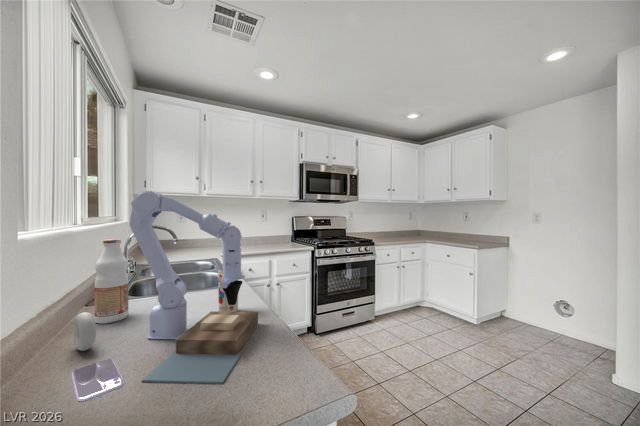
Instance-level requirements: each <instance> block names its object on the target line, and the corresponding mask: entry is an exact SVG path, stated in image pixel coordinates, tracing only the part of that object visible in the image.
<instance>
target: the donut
mask: <svg viewBox="0 0 640 426" xmlns="http://www.w3.org/2000/svg"><path fill="white" fill-rule="evenodd" d="M96 324H97V323H96V322H95V316H94V315H93V314H92V313H91V312H87V311H83V312H81V313H78V315H77V316H76V317H75V318H74V321H73V327H72V330H73V331H72V334H73V336H72V337H73V343H74V345H75V348H76V349H77V350H79V351H81V352H85V351H88V350H89V349H90V348H92V347H93V346H94V344H95V341H96V338H97V325H96Z"/></svg>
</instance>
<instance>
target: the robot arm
mask: <svg viewBox="0 0 640 426" xmlns="http://www.w3.org/2000/svg"><path fill="white" fill-rule="evenodd" d="M130 204H131V205H130V206H131V211H130V218H129V228H130V230H131V231H132V233H133V236H134V238H135V239H136V242H137V244H138V245H139V246H138V247H139V248H140V250H141V252H142V254H143V256H144V258H145V260H146V261H147V264H148V266H149V268H150V270H151V273H152V274H153V276H154V278H155V289H156V291H157V293H158V296H157V302H158V303H159V304H156V305H155V306H153V308H152V309H151V310H150V313H149V336H147V339H148V340H176V339H177V338H179V337H180V336H181V335H182V334H184V333H185V332H186V331H187V330H189V329H190V328H191V327H192V326H187V325H188V324H187V320H188V319H187V316H188V313H187V309H188V307H187V304H188V303H187V300H186V298H185V297H184V296H185V295H186V293H187V291H188V285H187V284H186V282H185V281H183V280H182V279H181V278H180V277H179V275H178V274H177V273H176V272H175V271H174V269H173V267H172V265H171V263H170V261H169V259H168V256H167V254H166V252H165V249H164V248H163V246H162V244H161V242H160V239H159V238H158V236H157V233H156V231H155V229H154V227H153V224H154V222H155V220H156V219H157V216H158V215H160V214H161V213H162V212H170V213H171V212H172V213H175V214H178V215H180V216H182V217H183V218H186V219H187V220H190V221H192V222H194V223H196V224H198V226H199V230H201V231H203V232H205V233H207V234H209V235H210V236H213V237H215V238H217V239H221V240H222V241H223V249H222V264H223V277H222V280H221V282H220V288H223V290H224V292H225V294H226V297H227V301H228V305H235V304H236V302H237V297H238V298H239V292H240V288H241V287H242V284H243V280H244V279H245V277H246V276H245V275H243V271H242V248H241V246H242V245H241V240H242V233H241V230H240V229H239V228H238V227H237V226H236V225H231V224H232V223H231V222H230V221H228V222H226V221H225V220H224V219H221V218H219V217H218V215H217V214H216V213H214V214H212V213H207V214H202V213H200V212H199V211H197V210H195V209H193V208H191V207H190V206H188V205H186V204H184V203H183V202H181V201H179V200H177V199H176V198H175V199H174V198H171V197H169V196H166V195H163V194H161V193H159V192H154V191H152V190H143V191H140V192H139V193H137V194H136V195H135V197H134V199H133V200H132V201H131V202H130Z"/></svg>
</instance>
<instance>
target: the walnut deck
mask: <svg viewBox="0 0 640 426" xmlns="http://www.w3.org/2000/svg"><path fill="white" fill-rule="evenodd" d="M209 315H239V322H238V324H237V325H236V326H235V327H234V328H233V329H232V330H200V323H201V322H202V321H203V320H204V319H206V318H207V317H208V316H209ZM258 325H259V312H258V311H238V312H219V311H210V312H209V313H207V314H206V315H205V316H203V317H202V318H201V319H200V320H198V321H197V322H196V323H195V324H194V325H192V326H190V327H191V328H190V329H189V330H187V331H186V332H185V333H184V334H182V335H181V336H180V337H179V338H177V339H175V352H176V354H229V355H237V353H241V350H242V349H243V347H244V345H245V344H246V343H247V341H248V340H249V338H250V337H251V336H252V333H253V332H254V330H256V328H257V326H258Z"/></svg>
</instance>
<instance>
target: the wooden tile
mask: <svg viewBox="0 0 640 426" xmlns="http://www.w3.org/2000/svg"><path fill="white" fill-rule="evenodd" d="M238 322H239V315H209V316H208V317H207V318H206V319H204V320H203V321H202V322H201V323H200V330H232V329H233V328H234V327H235V326H236V325H237V324H238Z"/></svg>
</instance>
